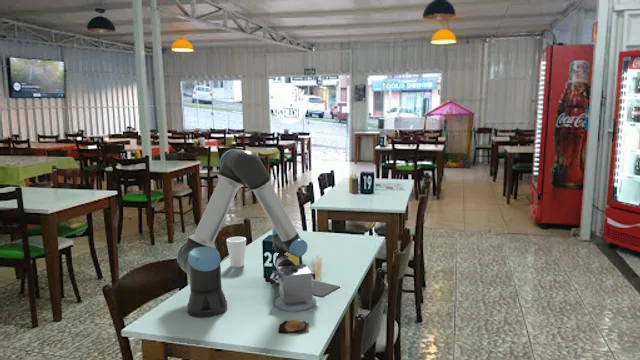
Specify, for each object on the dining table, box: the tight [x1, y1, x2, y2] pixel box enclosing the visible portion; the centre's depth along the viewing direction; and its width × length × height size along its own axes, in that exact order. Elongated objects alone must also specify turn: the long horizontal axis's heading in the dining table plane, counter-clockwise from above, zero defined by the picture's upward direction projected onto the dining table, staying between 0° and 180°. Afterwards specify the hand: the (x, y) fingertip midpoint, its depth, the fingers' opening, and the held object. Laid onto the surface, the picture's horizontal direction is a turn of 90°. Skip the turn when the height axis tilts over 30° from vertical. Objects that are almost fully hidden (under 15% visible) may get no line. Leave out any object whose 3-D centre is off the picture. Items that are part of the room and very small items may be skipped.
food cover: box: [277, 263, 313, 304], centre depth 198 cm, size 11×11×13 cm
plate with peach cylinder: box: [274, 295, 317, 313], centre depth 199 cm, size 16×16×5 cm
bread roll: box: [277, 319, 310, 335], centre depth 177 cm, size 11×8×4 cm
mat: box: [312, 280, 341, 298], centre depth 214 cm, size 13×13×1 cm
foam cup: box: [226, 236, 247, 268], centre depth 246 cm, size 10×9×13 cm
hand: (297, 285), depth 194 cm, fingers closed on food cover, 11 cm apart
